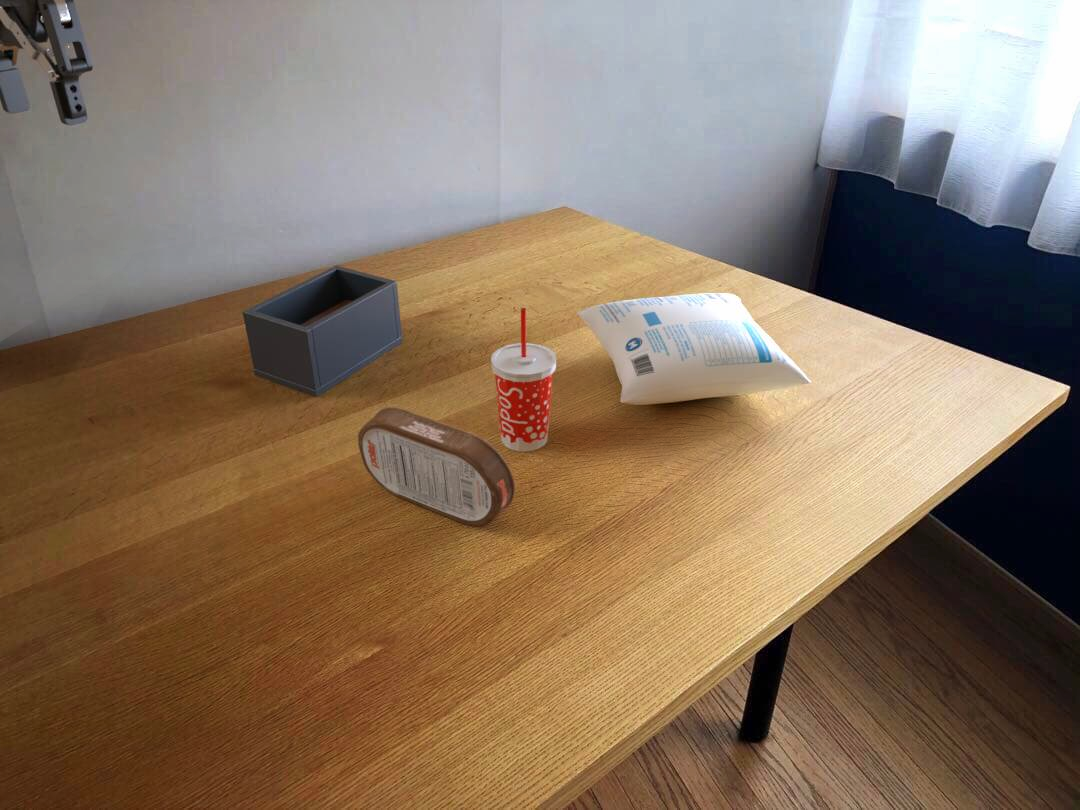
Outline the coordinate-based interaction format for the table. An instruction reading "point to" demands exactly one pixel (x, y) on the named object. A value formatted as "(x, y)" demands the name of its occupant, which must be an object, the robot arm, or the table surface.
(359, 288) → the bin
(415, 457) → the tin
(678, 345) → the pouch
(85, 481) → the table surface
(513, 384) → the beverage cup
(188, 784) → the table surface
